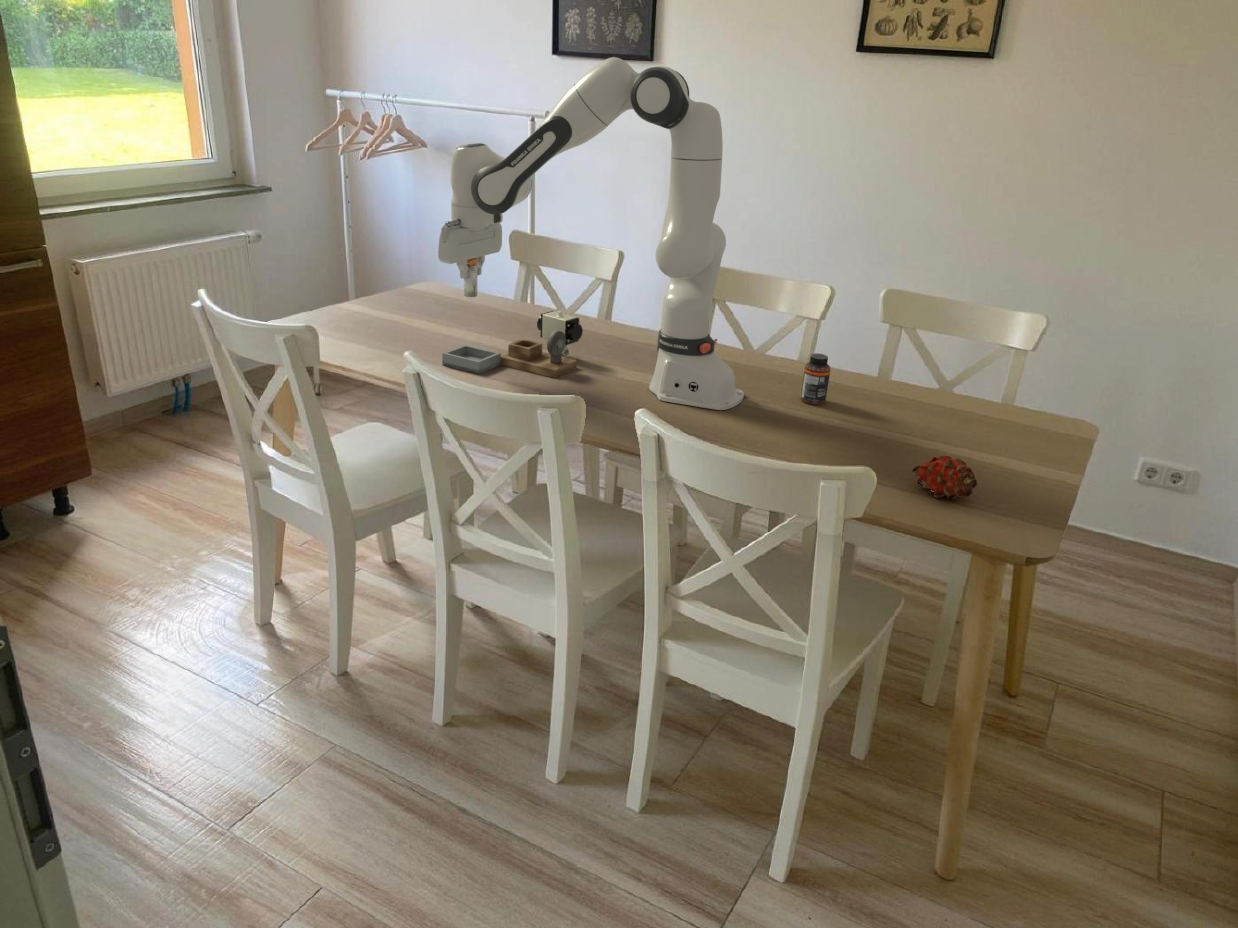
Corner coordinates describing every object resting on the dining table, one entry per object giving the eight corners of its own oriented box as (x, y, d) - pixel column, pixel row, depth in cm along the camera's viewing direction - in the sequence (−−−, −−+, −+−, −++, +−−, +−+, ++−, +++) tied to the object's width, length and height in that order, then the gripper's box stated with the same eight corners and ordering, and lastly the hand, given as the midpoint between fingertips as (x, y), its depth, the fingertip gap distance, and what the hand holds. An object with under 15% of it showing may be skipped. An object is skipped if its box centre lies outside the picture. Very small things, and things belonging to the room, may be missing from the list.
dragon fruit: (974, 515, 168) (909, 503, 174) (986, 477, 171) (922, 468, 178) (969, 489, 161) (902, 478, 168) (981, 451, 165) (916, 442, 172)
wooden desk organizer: (576, 367, 226) (577, 329, 222) (555, 378, 218) (556, 338, 214) (523, 355, 233) (523, 317, 229) (500, 364, 225) (500, 325, 221)
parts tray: (500, 364, 225) (500, 353, 224) (478, 374, 217) (478, 362, 216) (465, 356, 229) (464, 344, 228) (442, 365, 222) (442, 353, 221)
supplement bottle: (809, 395, 218) (816, 350, 213) (830, 402, 214) (837, 356, 210) (794, 400, 214) (801, 354, 209) (815, 407, 210) (823, 361, 206)
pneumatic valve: (570, 364, 228) (571, 318, 223) (535, 353, 235) (536, 308, 230) (584, 359, 233) (586, 314, 228) (549, 349, 239) (551, 304, 234)
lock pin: (480, 295, 217) (480, 257, 213) (472, 298, 214) (471, 260, 210) (469, 293, 218) (469, 255, 214) (461, 295, 216) (460, 257, 212)
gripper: (453, 224, 199) (454, 286, 205) (507, 214, 215) (506, 271, 221) (430, 220, 201) (432, 282, 207) (485, 210, 218) (485, 267, 224)
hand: (470, 276), depth 214 cm, fingers closed on lock pin, 3 cm apart
